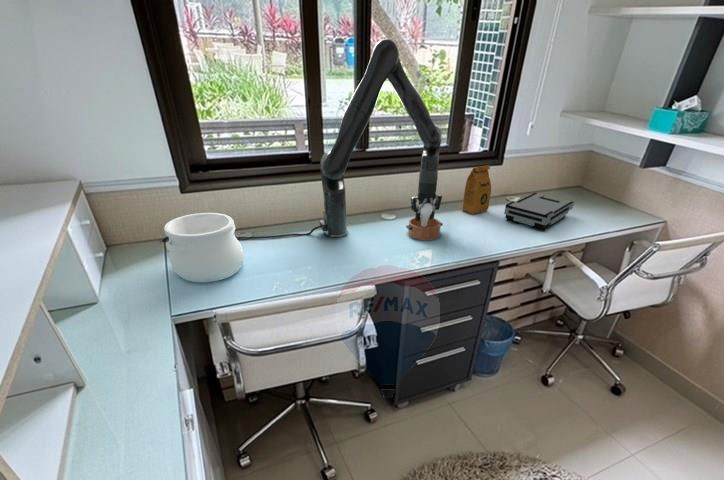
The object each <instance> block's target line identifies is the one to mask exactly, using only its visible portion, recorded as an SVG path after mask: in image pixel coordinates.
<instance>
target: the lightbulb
mask: <svg viewBox="0 0 724 480" xmlns="http://www.w3.org/2000/svg"><path fill="white" fill-rule="evenodd" d="M420 205H421V204H420ZM432 210H433V207H432V205H431V204H430V203H426V204H424V206H423V208H421V211H420V217H421V225H422V226H423V227H425V226H427V222H428V218H429V216H430V214H431V213H432Z"/></svg>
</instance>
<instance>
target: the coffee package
mask: <svg viewBox="0 0 724 480" xmlns="http://www.w3.org/2000/svg"><path fill="white" fill-rule="evenodd" d="M490 169H491V166H490V164H488V165H483V166H482V165H481V166H476V167H473V168H472V170H471V171H470V173H469V175H468V176H467V178H466V182H465V187H464V191H463V199H462V200H463V201H462V209H461V210H462V212H466V213H469V214H472V215H474V214H479V213H483V212H487V211H488V210H489V207H490V200H491V194H492V183H491V178H490V173H489V170H490Z"/></svg>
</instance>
